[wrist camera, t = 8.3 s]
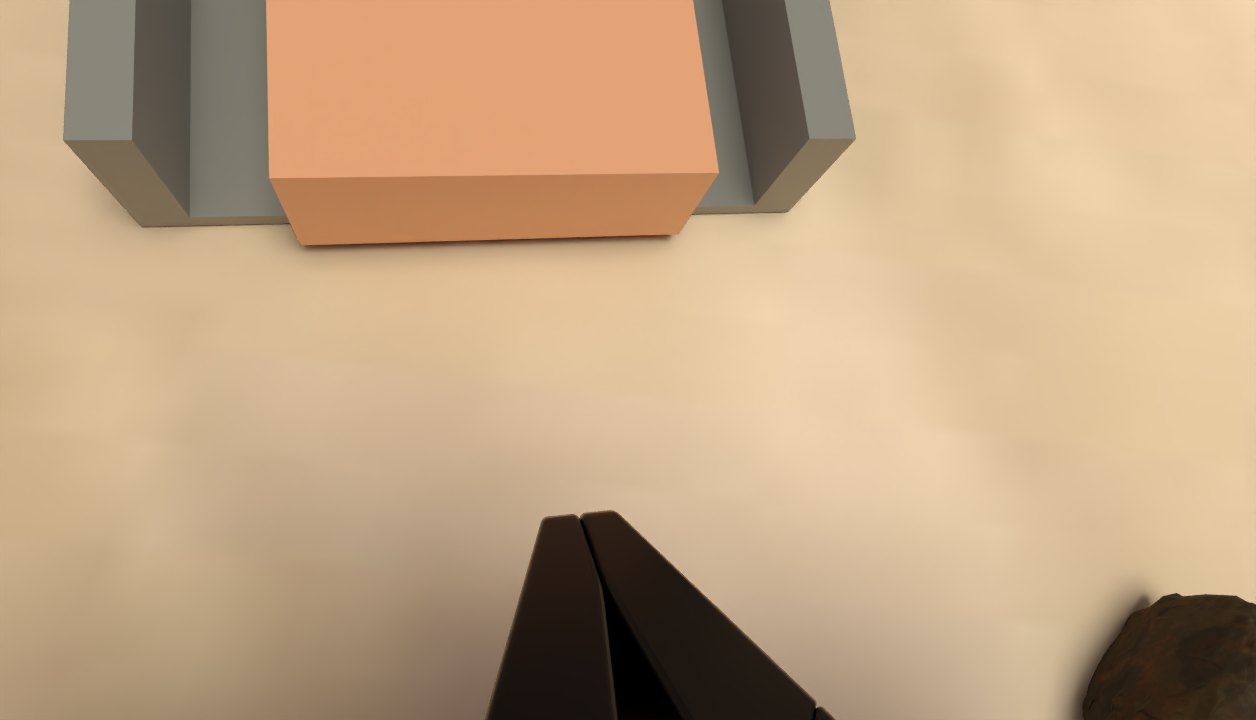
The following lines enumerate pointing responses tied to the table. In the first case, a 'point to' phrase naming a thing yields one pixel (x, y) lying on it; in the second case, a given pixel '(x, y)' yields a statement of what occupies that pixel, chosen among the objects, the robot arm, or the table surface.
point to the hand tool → (1180, 663)
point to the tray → (238, 105)
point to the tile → (486, 118)
